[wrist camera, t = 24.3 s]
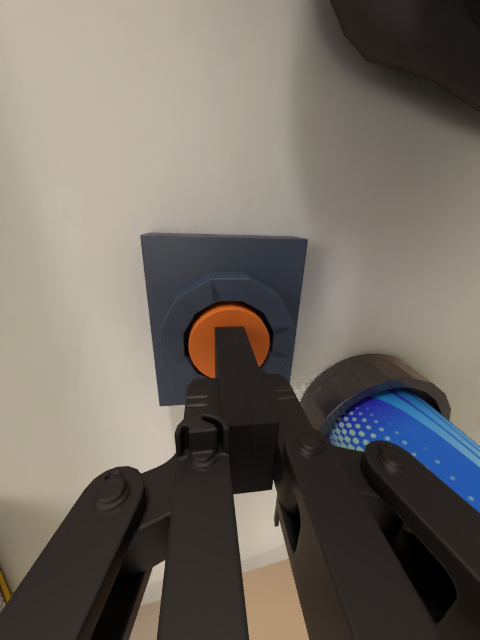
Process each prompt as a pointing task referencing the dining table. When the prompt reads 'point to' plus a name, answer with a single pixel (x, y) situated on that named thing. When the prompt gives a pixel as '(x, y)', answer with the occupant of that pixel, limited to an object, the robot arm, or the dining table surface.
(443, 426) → the beer can
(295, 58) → the dining table surface
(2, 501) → the dining table surface
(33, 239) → the dining table surface
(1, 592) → the candy box
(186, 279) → the button base
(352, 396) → the dock
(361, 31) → the casserole
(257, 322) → the button
